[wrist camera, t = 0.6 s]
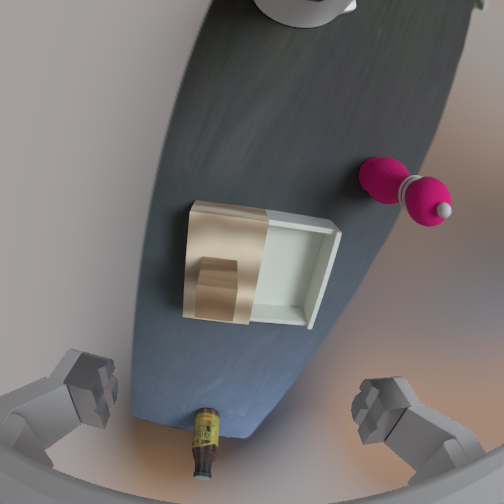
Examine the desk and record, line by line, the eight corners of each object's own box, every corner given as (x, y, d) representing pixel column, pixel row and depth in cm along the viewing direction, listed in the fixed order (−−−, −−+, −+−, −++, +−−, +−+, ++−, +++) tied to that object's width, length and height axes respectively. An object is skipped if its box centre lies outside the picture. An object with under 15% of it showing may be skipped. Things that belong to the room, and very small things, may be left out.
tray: (265, 209, 46) (269, 221, 41) (330, 219, 48) (342, 232, 42) (247, 304, 54) (248, 324, 48) (304, 309, 55) (311, 329, 50)
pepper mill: (357, 198, 46) (422, 248, 28) (353, 156, 43) (423, 183, 25) (394, 193, 46) (467, 237, 28) (391, 151, 43) (471, 177, 25)
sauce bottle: (211, 404, 67) (208, 472, 49) (224, 415, 69) (223, 480, 51) (190, 410, 68) (183, 475, 50) (203, 421, 70) (200, 483, 52)
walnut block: (203, 256, 43) (196, 284, 35) (237, 260, 43) (237, 289, 36) (200, 285, 45) (194, 317, 37) (232, 289, 45) (232, 321, 38)
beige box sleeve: (195, 200, 45) (189, 211, 40) (265, 209, 46) (269, 221, 41) (187, 296, 52) (182, 316, 47) (247, 304, 54) (248, 324, 48)
